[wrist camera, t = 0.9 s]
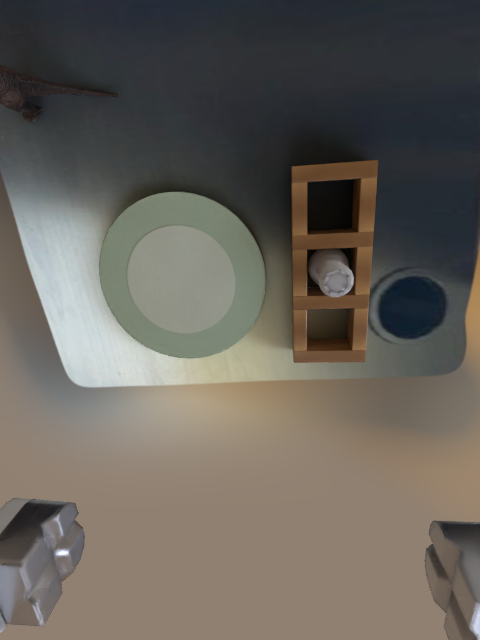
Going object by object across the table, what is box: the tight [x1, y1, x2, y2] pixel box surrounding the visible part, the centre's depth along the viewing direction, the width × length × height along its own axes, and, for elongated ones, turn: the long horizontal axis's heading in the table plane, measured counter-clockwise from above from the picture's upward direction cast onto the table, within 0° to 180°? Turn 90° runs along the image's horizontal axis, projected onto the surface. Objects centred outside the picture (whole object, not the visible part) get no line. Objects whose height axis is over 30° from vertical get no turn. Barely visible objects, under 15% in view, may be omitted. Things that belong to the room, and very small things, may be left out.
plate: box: [99, 192, 266, 358], centre depth 42 cm, size 20×20×1 cm
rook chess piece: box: [308, 248, 354, 297], centre depth 36 cm, size 4×4×8 cm
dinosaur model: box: [0, 65, 121, 123], centre depth 32 cm, size 4×12×15 cm
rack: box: [291, 160, 378, 363], centre depth 38 cm, size 21×8×4 cm, turn 3°
